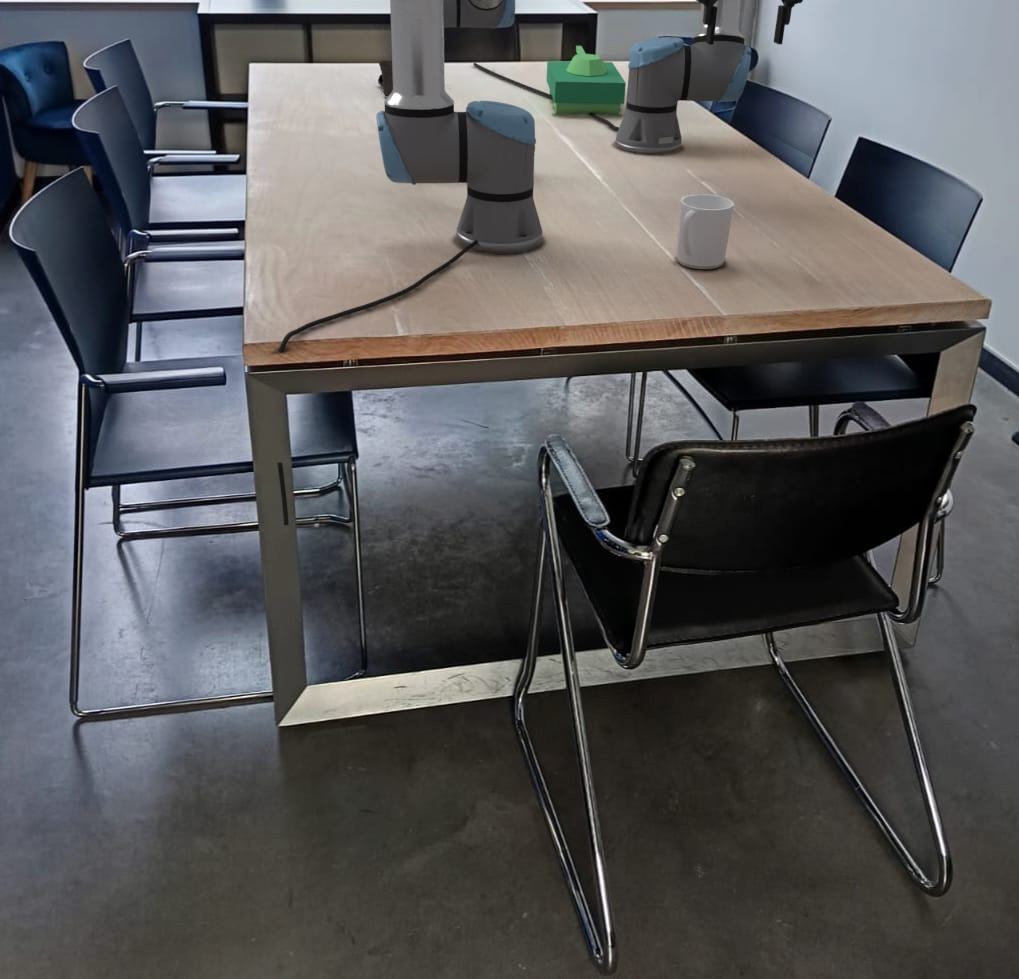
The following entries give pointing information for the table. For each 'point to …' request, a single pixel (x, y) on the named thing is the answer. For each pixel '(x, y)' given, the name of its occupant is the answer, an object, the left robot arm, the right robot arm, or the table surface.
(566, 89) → the toy tank
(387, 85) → the axe head
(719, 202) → the mug
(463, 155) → the left robot arm
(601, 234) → the table surface
